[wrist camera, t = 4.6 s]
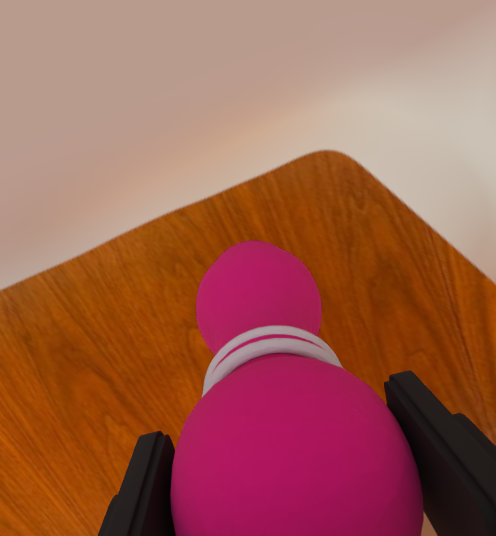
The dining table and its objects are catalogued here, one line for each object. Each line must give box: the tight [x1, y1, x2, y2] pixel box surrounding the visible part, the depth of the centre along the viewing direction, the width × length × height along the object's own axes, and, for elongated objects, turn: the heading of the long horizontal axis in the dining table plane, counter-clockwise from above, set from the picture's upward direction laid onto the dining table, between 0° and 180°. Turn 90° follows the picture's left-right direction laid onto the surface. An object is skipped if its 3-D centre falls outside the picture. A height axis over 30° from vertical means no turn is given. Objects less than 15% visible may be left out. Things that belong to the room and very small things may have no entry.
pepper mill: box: [170, 241, 424, 536], centre depth 14 cm, size 7×7×20 cm
